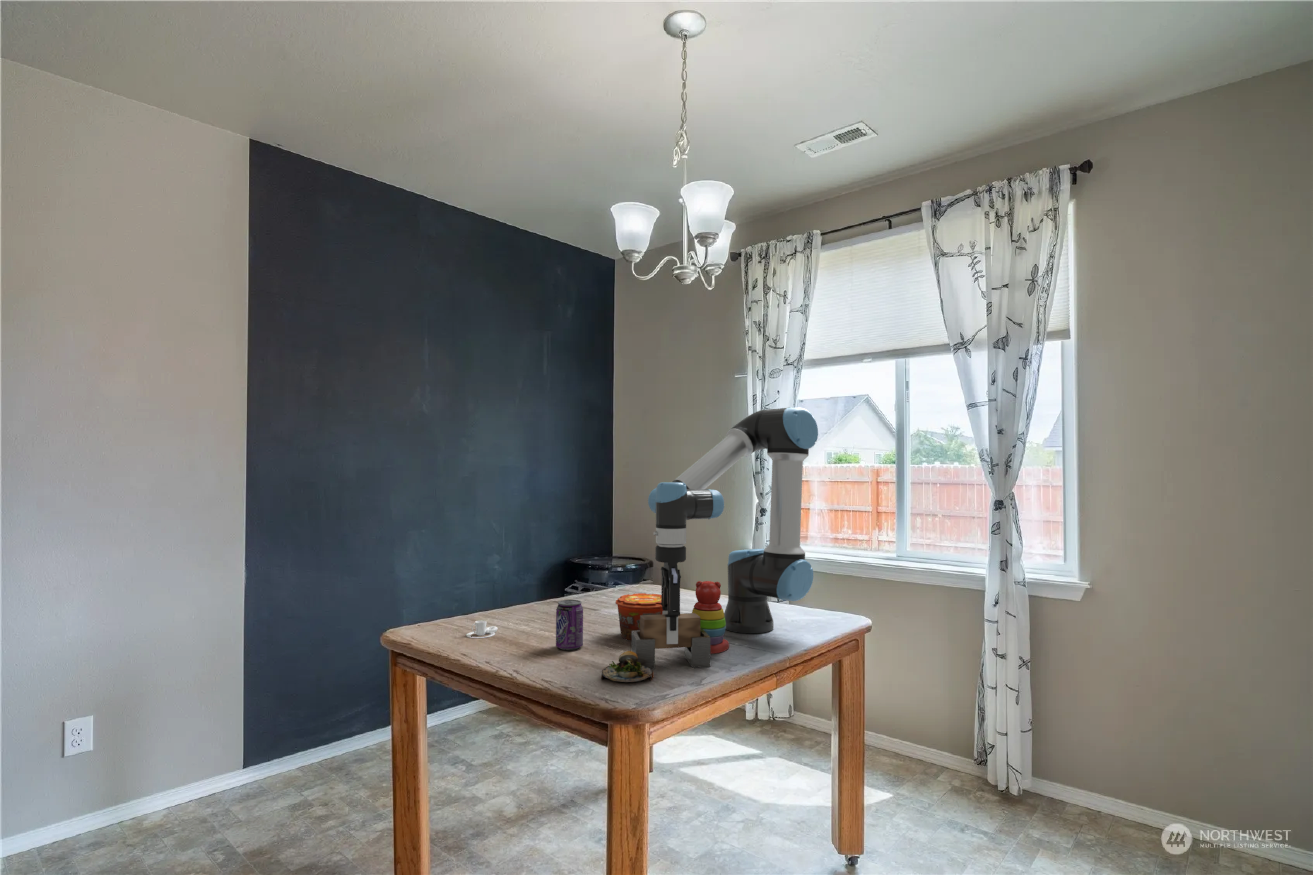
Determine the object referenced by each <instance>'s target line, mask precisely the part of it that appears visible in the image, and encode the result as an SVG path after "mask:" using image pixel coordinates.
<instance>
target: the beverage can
mask: <svg viewBox="0 0 1313 875" xmlns="http://www.w3.org/2000/svg"><path fill="white" fill-rule="evenodd" d="M557 604H558V605H557V607H556V609H555V646H556V647H557V648H558V649H560V650H562V651H574V650H578V649H579V648H581V647H582V646H584V607H583V604H582V601H581V600H578V599H562V600H559V601H558V602H557Z"/></svg>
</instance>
